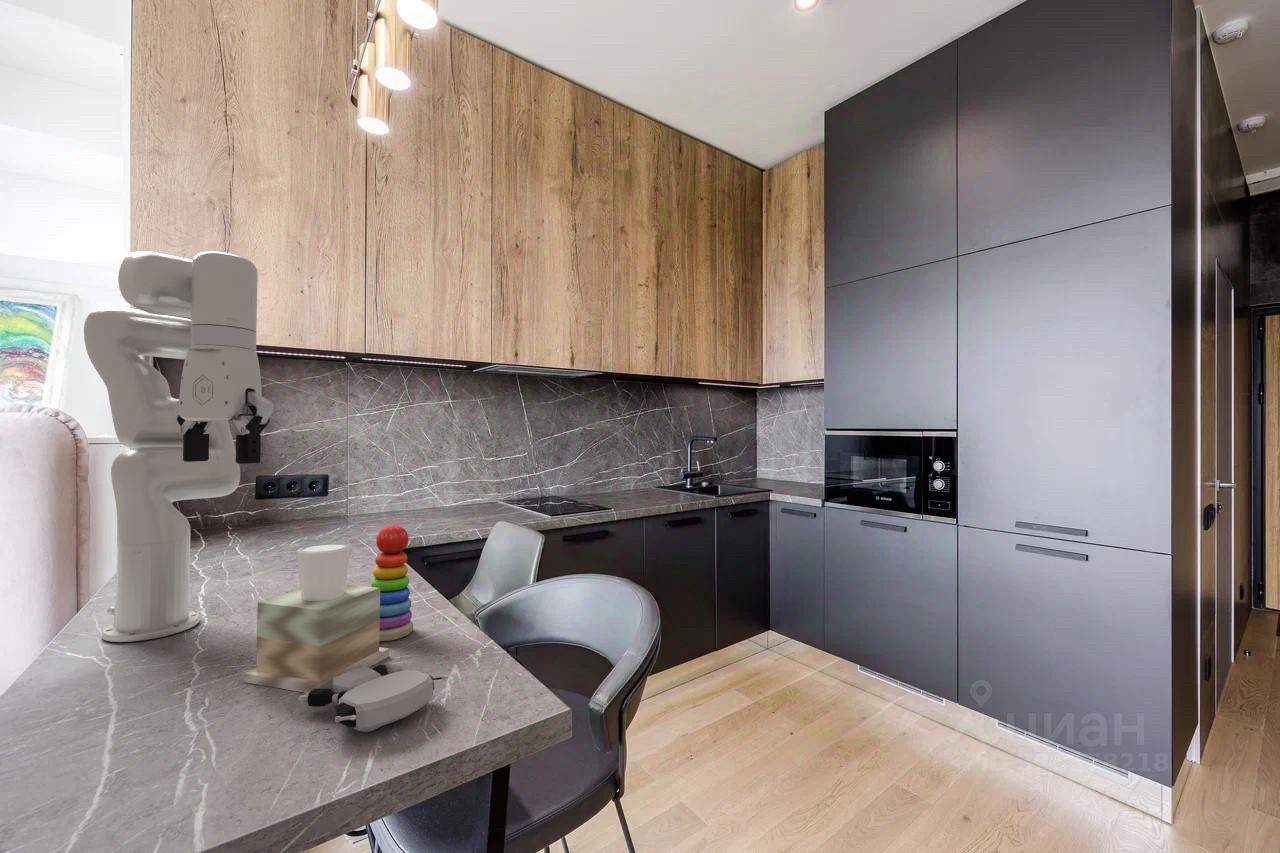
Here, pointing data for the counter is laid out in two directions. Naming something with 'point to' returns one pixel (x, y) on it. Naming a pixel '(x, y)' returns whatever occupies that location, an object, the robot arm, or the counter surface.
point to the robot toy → (374, 696)
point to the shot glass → (323, 571)
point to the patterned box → (316, 638)
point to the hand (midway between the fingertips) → (221, 462)
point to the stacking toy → (392, 583)
